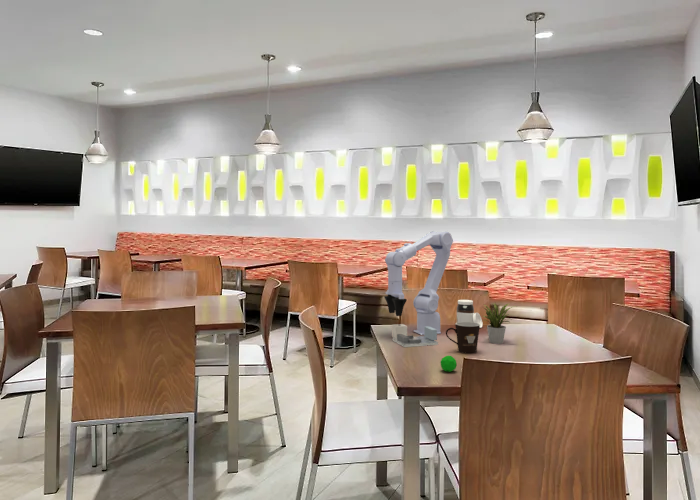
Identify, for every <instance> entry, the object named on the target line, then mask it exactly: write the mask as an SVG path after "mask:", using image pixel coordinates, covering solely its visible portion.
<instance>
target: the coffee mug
mask: <svg viewBox="0 0 700 500" xmlns="http://www.w3.org/2000/svg"><path fill="white" fill-rule="evenodd" d="M480 329H481V328H480V324H478V323H473V322H458V323H457V322H455V328H454V327H449V328H447V329H446V330H445V336H446V338H447V339H449V341H451V342H453V343H454V344H456V346H457V350H458V351H457V352H459V353H461V354H465V355H467V354H470V355H471V354H472V355H473V354H476V353H477V351H478V350H477V349H478V342H479V341H478V340H479V334H480ZM451 330H453V331H454V332H455V334H456V340H457V341H455V340H453V339H452V338H450V336H449V335H448V331H451Z"/></svg>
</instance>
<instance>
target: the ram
mask: <svg viewBox="0 0 700 500" xmlns="http://www.w3.org/2000/svg"><path fill="white" fill-rule="evenodd" d="M423 336H424V337H426V338H428V339H430V340H434V341H437V339H438V334H437V330H436V329H434V328H432V327H429V326H428V327H424V335H423Z"/></svg>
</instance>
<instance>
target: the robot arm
mask: <svg viewBox="0 0 700 500" xmlns="http://www.w3.org/2000/svg"><path fill="white" fill-rule="evenodd" d="M453 243H454V239H453V237H452V234H451V233H450V231H434V230H433V231H429V232H428V233H426V234H425V235H424V236H422V237H420V238H419V239H418V240H417V241H415V242H414V243H408V242H405V243H403V246H401V247H399V248H396V249H395V251H390V252H388V253H387V254H386V256H385V259H384V262H385V264H386V266H387V267H386V268H387V281H388V282H387V285H388V286H387V290H386V291H385V295H384V297H383V298H384V299H385V302H386V305H387V310H388V313H389V314H395V316H396V317H402V315H403V312H404V311H403V310H404V307H405V305H406V303H407V298H405V294H404V292H403V266H404V265H405V263H406V261H408V260H410V259H411V258H413V257H415V256H416V255H417V252H418V251H420V250H422V249H424V248H426V247H427V246H430V247H431V249H432V250H433V252H434V253H435V258H434V261H433V264H432V265H431V268H430V271H429V274H428V276H427V279H426V281H425V284H424V287H423V288H422V289H420V290H419V291H418V293H417V294H416V296H415V297H414V299H413V301H412V303H413V304H412V305H413V307H414V308H415V311H416V329H413V332H414V333H416V334H418V335H419V336H424V327H428V326H429V327H432V328H434V329H436V330H437V335H438V334H439V335H440V334H442V332H441V315H440V313H439V312H438V311H437V310H438V307H439V299H440V296H439V294H438V293H437V292H438V289H439V287H440V284H441V280H442V278H443V276H444V272H445V269H446V267H447V264H448V262H449V259H450V257H451V256H450V255H451V249H452V246H453Z"/></svg>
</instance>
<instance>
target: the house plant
mask: <svg viewBox="0 0 700 500" xmlns="http://www.w3.org/2000/svg"><path fill="white" fill-rule="evenodd" d="M508 305H509V303H507V304H505V305H503V306H502V307H501V309H500V312H499V307H498V305H497V304H496V302H494V303H493V309H492V310H491V308H489V306H487V305H486V304H484V303H483V306H484V307H483V306H482V308H483V309H484V310H485V314H486V315H482V317H484V318H486V319H485V321H486V322H488V323H489V324H487V325H486V326H487V327H486V329H487V336H488V340H489V341H488V342H489V343H491V344H496V345H500V344H503V343H504V340H505V339H504V338H505V333H506V328H507V327H506V325H502V324H503V323H506V322H508V323H510V321H509V320H511V318H509V317H508V318H507V316H508V314H507V312H508V311H509V310H510V309H511V308H517V307H518V306H516V305H513V306H511V307H509V308H508V307H507V306H508ZM485 307H486V308H485ZM487 319H488V320H489V321H488V320H487ZM483 321H484V319H483V320H482V322H483Z"/></svg>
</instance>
